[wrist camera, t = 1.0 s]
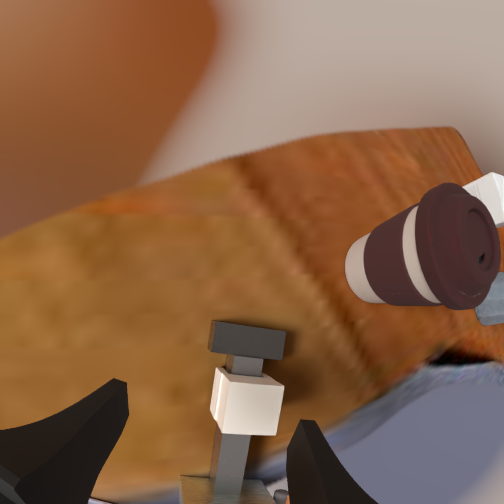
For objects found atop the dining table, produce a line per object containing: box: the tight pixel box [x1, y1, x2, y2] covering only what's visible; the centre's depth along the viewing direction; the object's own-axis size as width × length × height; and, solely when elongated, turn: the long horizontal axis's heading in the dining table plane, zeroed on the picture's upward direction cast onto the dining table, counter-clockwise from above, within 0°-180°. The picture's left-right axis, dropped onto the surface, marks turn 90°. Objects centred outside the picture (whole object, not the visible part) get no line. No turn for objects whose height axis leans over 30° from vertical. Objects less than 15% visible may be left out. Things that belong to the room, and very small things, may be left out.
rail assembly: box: [178, 320, 286, 504], centre depth 21 cm, size 18×8×6 cm, turn 171°
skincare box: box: [462, 172, 504, 228], centre depth 30 cm, size 6×4×12 cm
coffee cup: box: [345, 183, 501, 310], centre depth 24 cm, size 10×10×15 cm
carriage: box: [210, 367, 285, 435], centre depth 22 cm, size 4×4×6 cm
